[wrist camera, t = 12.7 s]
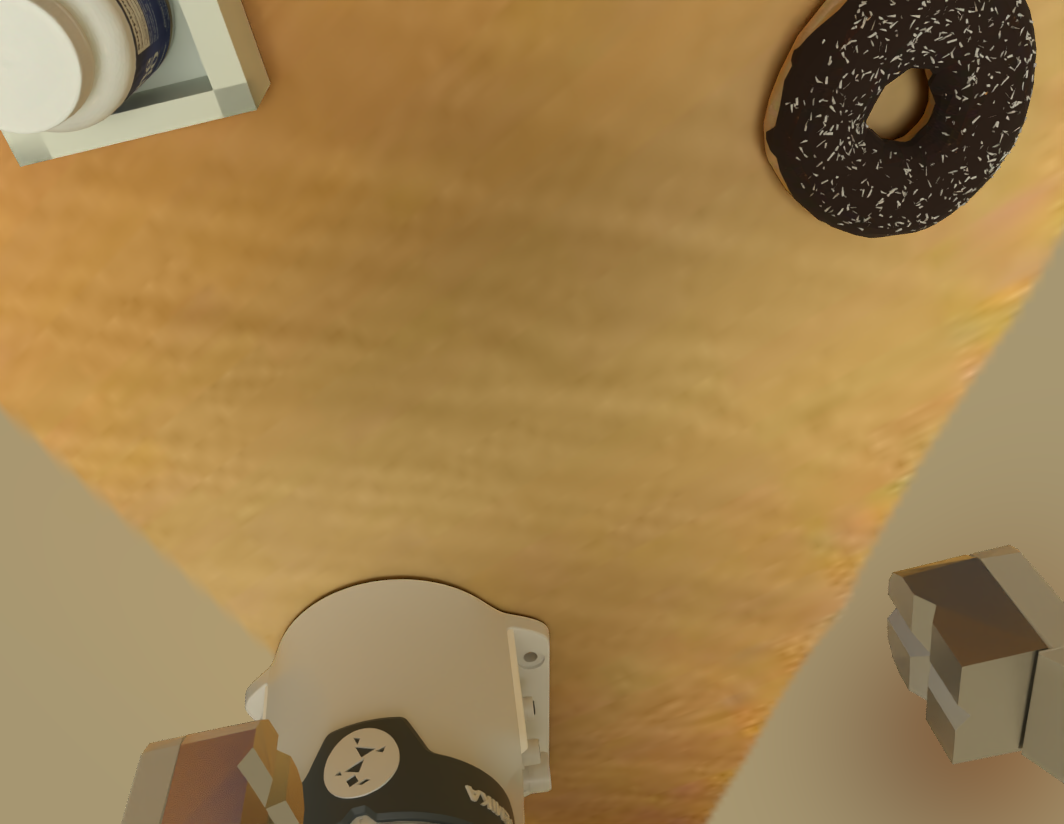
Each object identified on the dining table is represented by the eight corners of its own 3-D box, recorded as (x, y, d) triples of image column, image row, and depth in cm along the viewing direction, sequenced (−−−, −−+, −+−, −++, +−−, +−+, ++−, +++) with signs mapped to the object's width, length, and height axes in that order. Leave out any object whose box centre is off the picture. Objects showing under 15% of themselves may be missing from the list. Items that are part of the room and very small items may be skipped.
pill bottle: (83, 105, 36) (-13, 186, 27) (-10, -36, 33) (-147, 7, 25) (206, 51, 35) (146, 117, 27) (124, -98, 32) (28, -74, 24)
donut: (720, 190, 42) (747, 222, 38) (827, -95, 36) (870, -87, 32) (928, 238, 44) (970, 271, 41) (1060, -22, 38) (1122, -7, 35)
